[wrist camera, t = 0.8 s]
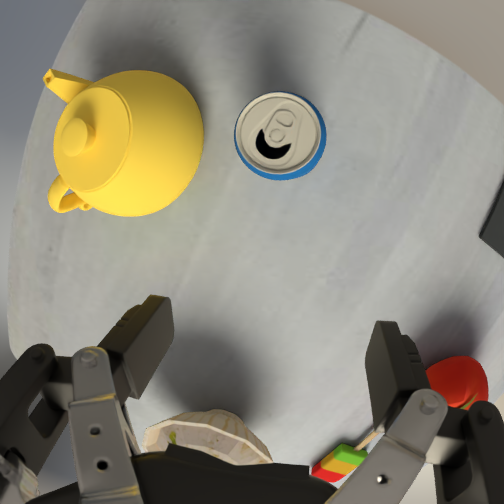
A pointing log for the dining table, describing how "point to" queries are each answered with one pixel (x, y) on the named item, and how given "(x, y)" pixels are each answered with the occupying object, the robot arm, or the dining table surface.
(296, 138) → the beverage can
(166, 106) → the teapot
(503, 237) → the place mat
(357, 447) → the popsicle
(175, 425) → the bowl
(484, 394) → the tomato
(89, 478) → the robot arm
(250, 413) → the dining table surface
